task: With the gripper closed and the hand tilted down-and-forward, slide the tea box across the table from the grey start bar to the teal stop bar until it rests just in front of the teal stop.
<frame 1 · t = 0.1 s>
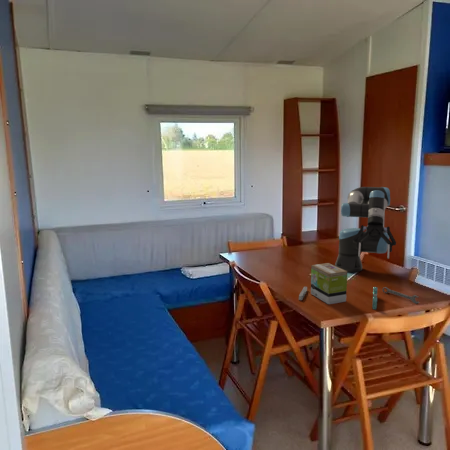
hand: (373, 256, 208), 15 cm above the table, tool tilted 35°, fingers open, 13 cm apart
combination wrench: (400, 298, 194), on the table
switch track: (340, 299, 193), on the table
tea box: (327, 298, 195), on the table
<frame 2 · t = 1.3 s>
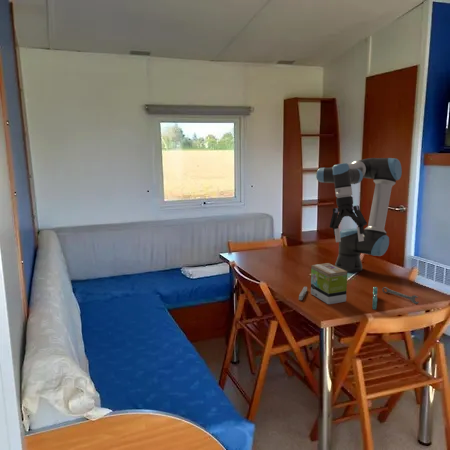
hand: (349, 241, 197), 25 cm above the table, tool pointing down, fingers open, 13 cm apart
nothing on the table moved.
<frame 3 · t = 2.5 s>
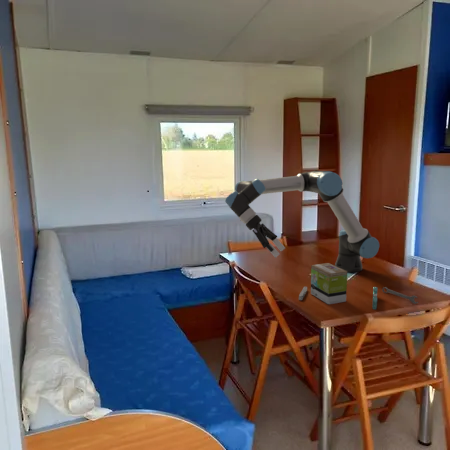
hand: (280, 252, 199), 20 cm above the table, tool tilted 45°, fingers open, 13 cm apart
nothing on the table moved.
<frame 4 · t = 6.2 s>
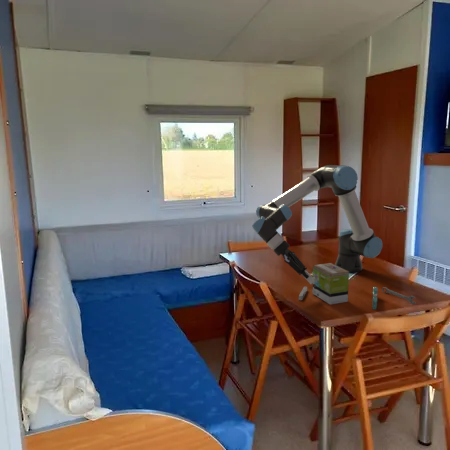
hand: (313, 282, 195), 7 cm above the table, tool tilted 45°, fingers closed
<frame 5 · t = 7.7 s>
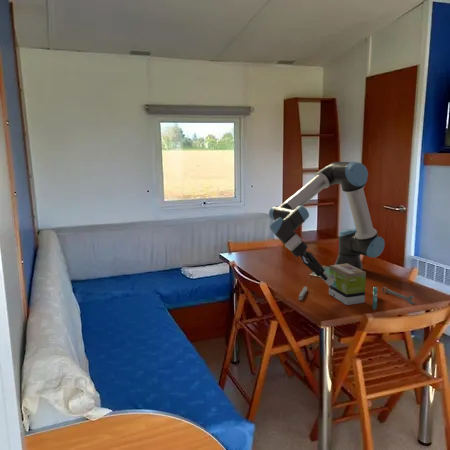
hand: (331, 284, 192), 7 cm above the table, tool tilted 45°, fingers closed
tea box: (346, 299, 193), on the table, touching gripper
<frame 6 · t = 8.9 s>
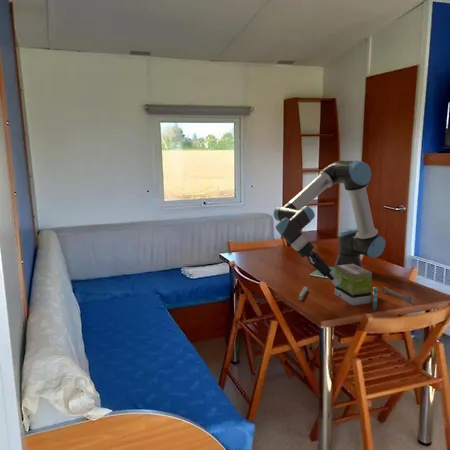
hand: (338, 284, 192), 7 cm above the table, tool tilted 45°, fingers closed
tea box: (352, 299, 193), on the table
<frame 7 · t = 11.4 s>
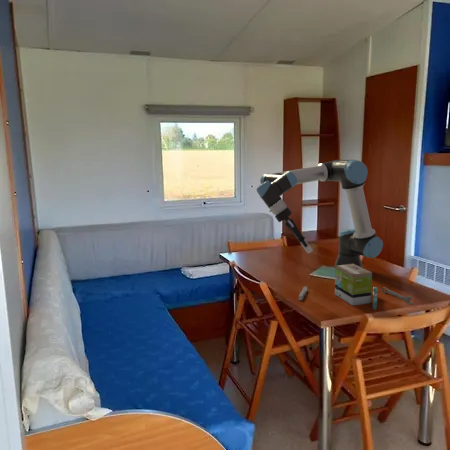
hand: (310, 252, 196), 21 cm above the table, tool tilted 35°, fingers closed
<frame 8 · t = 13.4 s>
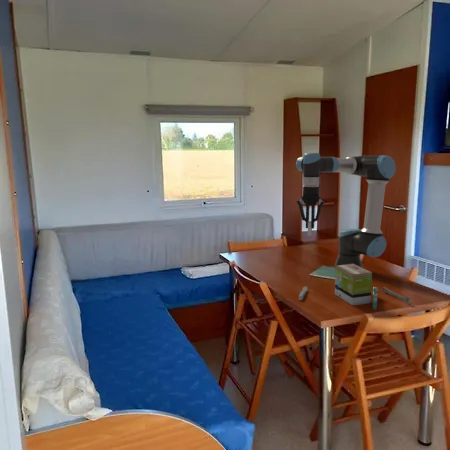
hand: (309, 235, 202), 27 cm above the table, tool pointing down, fingers closed
at the end: tea box inside the target area (3.2 cm from its centre), on the table; tea box moved 10.9 cm from its start; tea box tilted 0° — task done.
